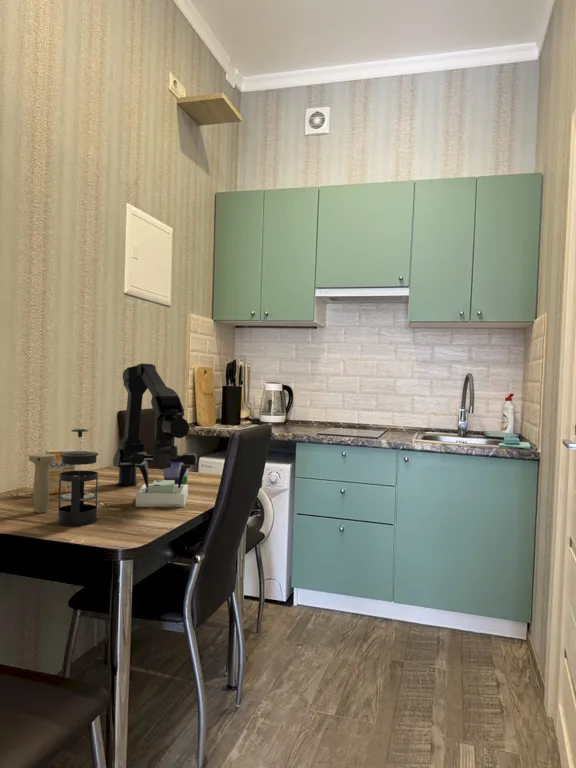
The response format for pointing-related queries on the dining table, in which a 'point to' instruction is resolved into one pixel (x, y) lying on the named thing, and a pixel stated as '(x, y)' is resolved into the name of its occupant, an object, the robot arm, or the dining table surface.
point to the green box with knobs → (163, 486)
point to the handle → (41, 481)
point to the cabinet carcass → (161, 497)
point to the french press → (78, 488)
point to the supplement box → (56, 469)
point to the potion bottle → (175, 473)
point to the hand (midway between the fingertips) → (163, 487)
